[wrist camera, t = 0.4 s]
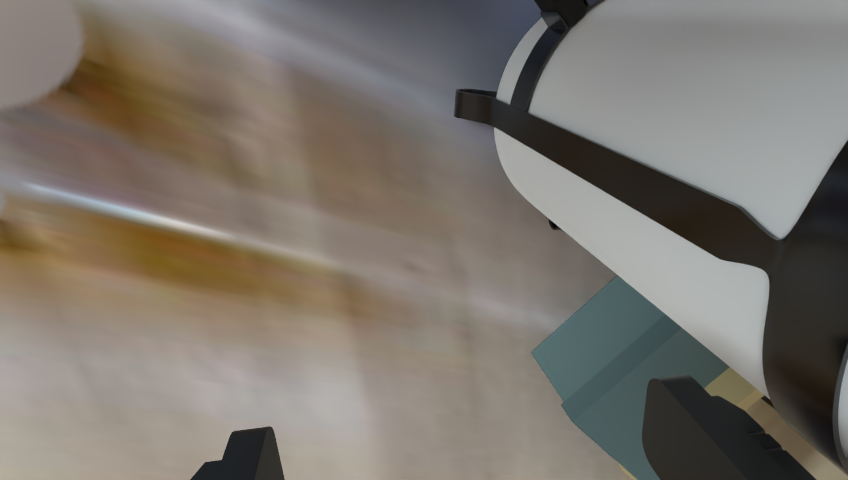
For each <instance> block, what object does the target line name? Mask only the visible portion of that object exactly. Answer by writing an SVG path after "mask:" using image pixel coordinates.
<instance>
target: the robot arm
mask: <svg viewBox="0 0 848 480" xmlns="http://www.w3.org/2000/svg"><path fill="white" fill-rule="evenodd" d="M642 444H643V448H644V452H645V455H646V457H647V460H648V462H649V464H650V465H651V467H652V468H653V470H654V471H655V473H656V474H657V476H658V477H659V479H660V480H817V479H815V478H814V477H813V476H812V475H811V474H810V473H809V472H808V471H807V470H806V469H805V468H804V467H803V466H802V465H801V464H800V463H799V462H798V461H797V460H796V459H795V458H794V457H793V456H791V455H790V454H789V453H788V452H787V451H786V450H783V449H782V447H781V445H780V444H779V443H778V442H777V441H776V440H775V439H774V438H773V437H772V436H771V435H770V434H766V433H765V430H764V429H763V428H762V427H761V426H760V425H759V424H758V423H757V422H756V421H755V420H754V419H753V418H752V417H751V416H750V415H749V414H748V413H747V412H746V411H745V410H743V409H741V408H739V407H738V406H736V405H734V404H732V403H731V402H729V401H727V400H725V399H724V398H722V397H720V396H711V395H710V394H709V393H708V392H707V391H706V390H705V389H704V388H703V387H702V386H701V385H700V384H699V383H698V382H697V381H696V380H695V379H694V378H693V377H691V376H690V375H687V374H684V375H676V376H668V377H660V378H653V379H651V380H650V381H649V383H648V386H647V394H646V402H645V411H644V419H643V428H642ZM191 480H285V479H284V475H283V470H282V466H281V461H280V457H279V452H278V447H277V443H276V438H275V434H274V431H273V429H272V427H263V428H255V429H247V430H239V431H234V432H232V434H231V435H230V438H229V441H228V443H227V446H226V449H225V452H224V455H223V458H222V460H219V461H211V462H205V463H204V464H203V465H202V467H201V468H200V469H199V470H198V471H197V472H196V474H195V475H194V476H193V477H192V478H191Z"/></svg>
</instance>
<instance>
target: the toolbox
mask: <svg viewBox="0 0 848 480" xmlns="http://www.w3.org/2000/svg"><path fill="white" fill-rule="evenodd" d="M531 353H532V355H533V356H534V358H535V359H536V361H537V362H538V364H539V365H540V367H541V368H542V370H543V371H544V373H545V374H546V376H547V377H548V379H549V380H550V382H551V383H552V385H553V386H554V388H555V389H556V391H557V392H558V394H559V395H560V397H561V398H562V400H563V401H564V403H562V404H561V406H562V407H563V409H564V410H565V412H566V413H567V415H568V416H569V418H570V419H571V421H572V422H573V423H574V424H575V425H576V426H577V427H578V428H580V429H581V430H582V431H583V432H584V433H585V434H586V435H587V436H589V437H590V438H591V439H592V440H593V441H594V442H595V443H597V444H598V445H599V446H600V447H601V448H602V449H603V450H605V451H606V452H607V453H608V454H609V455H610V456H611V457H612V458H614V459H615V461H616V462H617V464H618V465H619V467H620V468H621V469H622V471H623V472H624V473H625V474H626V475H628V476H629V477H630V478H631V479H632V480H660V479H659V477H658V476H657V474H656V473H655V471H654V470H653V468H652V467H651V465H650V464H649V462H648V460H647V457H646V455H645V452H644V448H643V444H642V428H643V419H644V411H645V402H646V394H647V386H648V383H649V381H650V380H651V379H653V378H660V377H668V376H676V375H684V374H687V375H690V376H691V377H693V378H694V379H695V380H696V381H697V382H698V383H699V384H700V385H701V386H702V387H703V388H704V389H705V390H706V391H707V392H708V393H709V394H710V395H711V396H720V397H722V398H724V399H725V400H727V401H729V402H731V403H732V404H734V405H736V406H738V407H739V408H741V409H743V410H745V411H746V410H747V409H748V408H749V407H751V406H752V405H753V404H754V403H756V402H757V401H758V400H759V399H760V398H761V399H762V400H764V401H765V402H766V403H767V404H769V405H770V406H771V407H772V408H774V406H773V404H772V402H771V400H770V399H769V398H767V397H766V396H765V395H764V394H763V393H761V392H760V391H759V390H758V389H756V388H755V387H754V386H753V385H752V384H750V383H749V382H748V381H747V380H745V379H744V378H743V377H742V376H741V375H739V374H738V373H737V372H736V371H734V370H733V369H732V368H731V367H729V366H728V365H727V364H726V363H725V362H723V361H722V360H721V359H720V358H718V357H717V356H716V355H715V354H714V353H712V352H711V351H710V350H709V349H707V348H706V347H705V346H704V345H703V344H701V343H700V342H699V341H698V340H696V339H695V338H694V337H693V336H692V335H690V334H689V333H688V332H687V331H685V330H684V329H683V328H682V327H681V326H679V325H678V324H677V323H676V322H674V321H673V320H672V319H671V318H670V317H668V316H667V315H666V314H665V313H663V312H662V311H661V310H660V309H659V308H657V307H656V306H655V305H654V304H652V303H651V302H650V301H649V300H647V299H646V298H645V297H644V296H643V295H641V294H640V293H639V292H638V291H636V290H635V289H634V288H633V287H632V286H630V285H629V284H628V283H627V282H625V281H624V280H623V279H622V278H621V277H619V276H618V275H617V276H616V277H615V278H614V279H613V280H612V281H611V282H610V283H608V284H607V285H606V286H605V287H604V288H603V289H602V290H601V291H599V292H598V293H597V294H596V295H595V296H594V297H593V298H592V299H590V300H589V301H588V302H587V303H586V304H585V305H584V306H583V307H582V308H580V309H579V310H578V311H577V312H576V313H575V314H574V315H573V316H571V317H570V318H569V319H568V320H567V321H566V322H565V323H564V324H562V325H561V326H560V327H559V328H558V329H557V330H556V331H555V332H553V333H552V334H551V335H550V336H549V337H548V338H547V339H546V340H545V341H543V342H542V343H541V344H540V345H539V346H538V347H537V348H536V349H534V350H533V351H532V352H531ZM774 409H775V408H774Z"/></svg>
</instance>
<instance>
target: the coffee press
mask: <svg viewBox="0 0 848 480" xmlns="http://www.w3.org/2000/svg"><path fill="white" fill-rule="evenodd" d="M534 1H535V2H536V3H537V5H538V6H539V8H540V9H541V16H542V17H541V18H540V19H539V20H538V21H537V22H536V23H535V24H534V25H533V27H532V28H531V29H530V30H529V31H528V32H527V33H526V35H525V36H524V37H523V38H522V40H521V41H520V43H519V44H518V45H517V47H516V49H515V50H514V52H513V54H512V55H511V57H510V59H509V61H508V63H507V65H506V68H505V70H504V72H503V75H502V78H501V81H500V84H499V88H498V91H497V92H493V91H484V90H476V89H457V90H456V96H455V110H454V116H455V117H457V118H462V119H467V120H472V121H476V122H481V123H485V124H488V125H491V126H493V127H494V136H495V143H496V148H497V152H498V156H499V159H500V162H501V164H502V167H503V169H504V171H505V173H506V175H507V176H508V178H509V180H510V181H511V183H512V184H513V185H514V187H515V188H516V189H517V190H518V192H519V193H520V194H521V195H522V196H523V197H524V198H525V199H526V200H528V201H529V202H530V203H531V204H532V205H533V206H534V207H536V208H537V209H538V210H539V211H540V212H542V213H543V214H544V215H545V216H546V217H548V218H549V224H550V226H551V228H552V229H553V230H563V231H564V232H566V233H567V234H568V235H569V236H571V237H572V238H573V239H574V240H575V241H577V242H578V243H579V244H580V245H582V246H583V247H584V248H585V249H586V250H588V251H589V252H590V253H591V254H592V255H594V256H595V257H596V258H597V259H599V260H600V261H601V262H602V263H603V264H605V265H606V266H607V267H608V268H610V269H611V270H612V271H613V272H614V273H616V274H617V275H618V276H619V277H621V278H622V279H623V280H624V281H625V282H627V283H628V284H629V285H630V286H632V287H633V288H634V289H635V290H636V291H638V292H639V293H640V294H641V295H643V296H644V297H645V298H646V299H647V300H649V301H650V302H651V303H652V304H654V305H655V306H656V307H657V308H659V309H660V310H661V311H662V312H663V313H665V314H666V315H667V316H668V317H670V318H671V319H672V320H673V321H674V322H676V323H677V324H678V325H679V326H681V327H682V328H683V329H684V330H685V331H687V332H688V333H689V334H690V335H692V336H693V337H694V338H695V339H696V340H698V341H699V342H700V343H701V344H703V345H704V346H705V347H706V348H707V349H709V350H710V351H711V352H712V353H714V354H715V355H716V356H717V357H718V358H720V359H721V360H722V361H723V362H725V363H726V364H727V365H728V366H729V367H731V368H732V369H733V370H734V371H736V372H737V373H738V374H739V375H741V376H742V377H743V378H744V379H745V380H747V381H748V382H749V383H750V384H752V385H753V386H754V387H755V388H756V389H758V390H759V391H760V392H761V393H763V394H764V395H765V396H766V397H767V398H769V399H770V400H771V402H772V404H773V406H774V408H775V410H776V411H777V413H778V414H779V416H780V417H781V419H782V420H783V421H784V422H785V423H786V424H787V425H788V426H789V427H790V428H791V429H792V430H793V431H794V432H796V433H797V434H798V435H799V436H800V437H802V438H803V439H804V440H805V441H806V442H807V443H809V444H810V445H811V446H812V447H813V448H815V449H816V450H817V451H818V452H819V453H821V454H822V455H823V456H824V457H825V458H827V459H828V460H829V461H830V462H831V463H832V464H834V465H835V466H836V467H837V468H838V469H840V470H841V471H842V472H843V473H844V474H846V475H847V476H848V0H534Z"/></svg>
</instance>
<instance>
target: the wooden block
mask: <svg viewBox="0 0 848 480" xmlns="http://www.w3.org/2000/svg"><path fill="white" fill-rule="evenodd" d="M746 412H747V413H748V414H749V415H750V416H751V417H752V418H753V419H754V420H755V421H756V422H757V423H758V424H759V425H760V426H761V427H762V428H763V429H764V430H765V433H766V434H770V435H771V436H772V437H773V438H774V439H775V440H776V441H777V442H778V443H779V444H780V445H781V447H782V449H783V450H786V451H787V452H788V453H789V454H790V455H791V456H793V457H794V458H795V459H796V460H797V461H798V462H799V463H800V464H801V465H802V466H803V467H804V468H805V469H806V470H807V471H808V472H809V473H810V474H811V475H812V476H813V477H814V478H815V479H817V480H848V476H847V475H846V474H844V473H843V472H842V471H841V470H840V469H838V468H837V467H836V466H835V465H834V464H832V463H831V462H830V461H829V460H828V459H827V458H825V457H824V456H823V455H822V454H821V453H819V452H818V451H817V450H816V449H815V448H813V447H812V446H811V445H810V444H809V443H807V442H806V441H805V440H804V439H803V438H802V437H800V436H799V435H798V434H797V433H796V432H794V431H793V430H792V429H791V428H790V427H789V426H788V425H787V424H786V423H785V422H784V421H783V420H782V419H781V417H780V416H779V414H778V413H777V411H776V410H775V409H774V408H772V407H771V406H770V405H769V404H767V403H766V402H765V401H764V400H762V399H761V398H760V399H759V400H758V401H757V402H756V403H754V404H753V405H752V406H751V407H749V408H748V409H747V410H746Z"/></svg>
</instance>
